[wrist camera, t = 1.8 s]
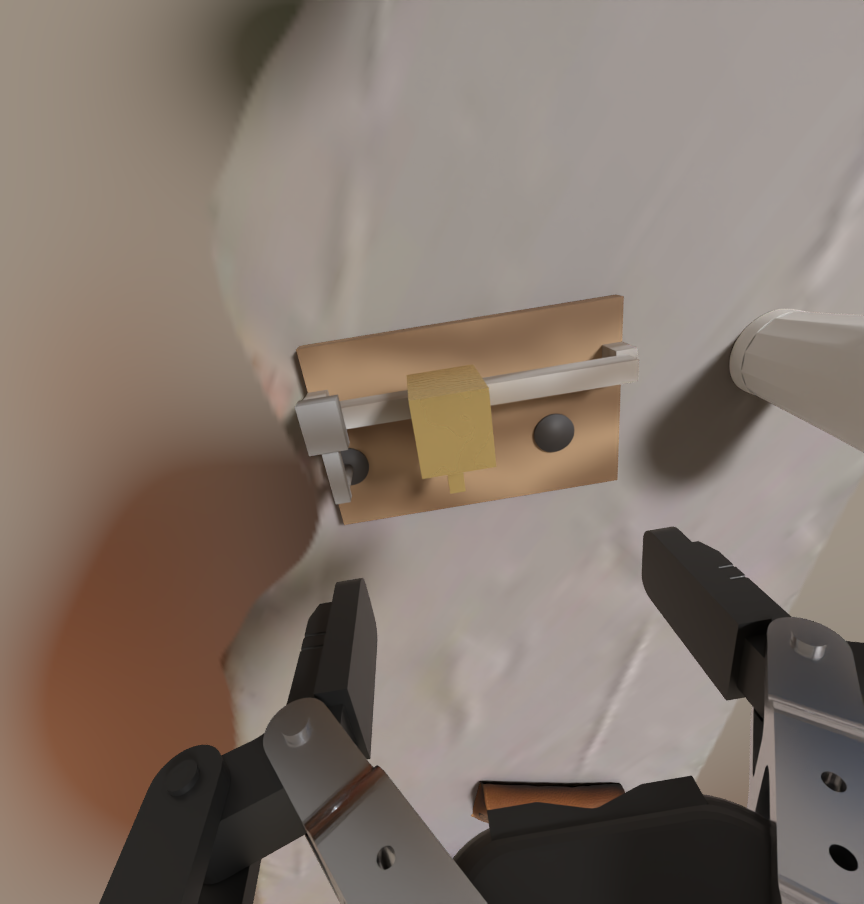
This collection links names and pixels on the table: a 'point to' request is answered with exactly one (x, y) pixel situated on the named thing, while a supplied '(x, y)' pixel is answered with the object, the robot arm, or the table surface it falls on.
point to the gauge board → (511, 398)
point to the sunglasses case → (541, 796)
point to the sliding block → (451, 423)
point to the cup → (806, 368)
